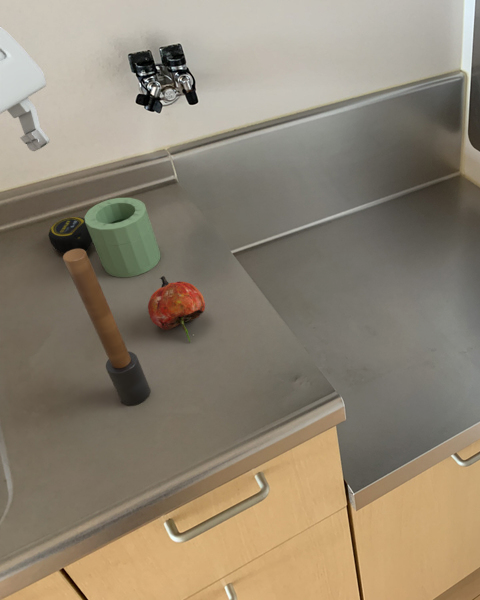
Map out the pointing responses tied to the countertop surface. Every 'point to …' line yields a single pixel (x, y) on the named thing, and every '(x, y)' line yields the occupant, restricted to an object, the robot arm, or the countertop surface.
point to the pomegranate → (175, 304)
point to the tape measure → (70, 235)
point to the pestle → (107, 331)
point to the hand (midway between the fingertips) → (12, 168)
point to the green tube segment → (123, 236)
